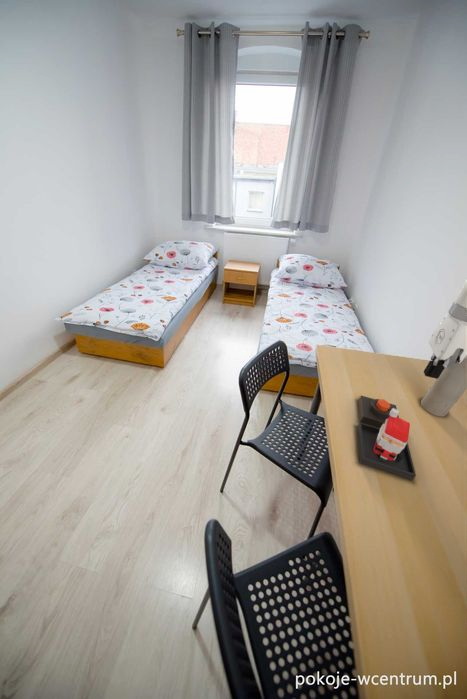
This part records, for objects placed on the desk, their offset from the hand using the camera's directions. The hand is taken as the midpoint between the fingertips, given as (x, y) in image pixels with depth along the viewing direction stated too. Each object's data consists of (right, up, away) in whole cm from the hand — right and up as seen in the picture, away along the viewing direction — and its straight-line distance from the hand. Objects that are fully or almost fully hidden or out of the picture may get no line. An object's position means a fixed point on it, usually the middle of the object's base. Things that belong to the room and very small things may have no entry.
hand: (430, 375), depth 73 cm
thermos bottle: (+16, -13, +22) cm, 30 cm away
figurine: (-10, -21, +3) cm, 24 cm away
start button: (-6, -11, +13) cm, 18 cm away
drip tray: (-11, -22, +4) cm, 24 cm away
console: (-6, -15, +15) cm, 22 cm away
